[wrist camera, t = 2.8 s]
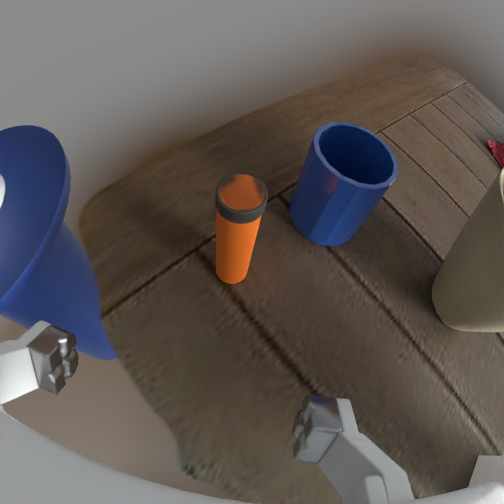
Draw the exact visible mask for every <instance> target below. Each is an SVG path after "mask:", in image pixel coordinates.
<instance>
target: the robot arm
mask: <svg viewBox="0 0 504 504" xmlns="http://www.w3.org/2000/svg"><path fill="white" fill-rule="evenodd" d="M4 194H5V182H4V179H3V177H2V175H1V174H0V208H1V205H2V202H3V199H4ZM75 345H76V337H75V336H74V335H73V334H72V333H69V332H67V331H65V330H63V329H60V328H58V327H56V326H54V325H51V324H49V323H47V322H45V321H38V322H37V323H36V324H35V325H34V326H32V327H31V328H30V329H29V330H28V331H27V332H25V333H24V334H23V335H22V336H21V337H20V338H18V339H17V340H16V341H15V340H9V341H4V342H0V504H257V503H249V502H242V501H235V500H229V499H223V498H217V497H211V496H207V495H202V494H197V493H193V492H189V491H184V490H180V489H176V488H173V487H169V486H165V485H161V484H158V483H155V482H151V481H148V480H145V479H142V478H139V477H136V476H133V475H130V474H127V473H125V472H121V471H119V470H116V469H114V468H111V467H109V466H106V465H104V464H101V463H99V462H96V461H94V460H92V459H89V458H87V457H85V456H82V455H80V454H78V453H76V452H74V451H72V450H70V449H68V448H66V447H64V446H62V445H59V444H58V443H56V442H54V441H52V440H50V439H48V438H46V437H44V436H43V435H41V434H39V433H37V432H36V431H34V430H32V429H30V428H29V427H27V426H25V425H24V424H22V423H21V422H19V421H17V420H16V419H14V418H13V417H11V416H10V415H8V414H6V413H5V411H4V409H3V407H2V405H1V404H3V403H5V402H8V401H10V400H12V399H14V398H17V397H19V396H21V395H23V394H26V393H28V392H30V391H32V390H34V389H36V388H38V386H39V387H41V388H43V389H45V390H47V391H49V392H51V393H54V394H56V395H57V394H58V393H59V392H60V391H61V389H62V388H63V387H64V385H65V384H66V383H65V379H66V378H69V377H72V375H73V374H74V373H75V371H76V368H77V365H78V353H77V352H76V350H75V349H74V346H75ZM293 437H294V438H295V439H296V442H295V444H294V446H293V451H294V461H299V462H309V463H318V466H319V467H320V468H321V470H322V471H323V472H324V474H325V475H326V477H327V478H328V479H329V481H330V482H331V483H332V485H333V486H334V487H335V489H336V490H337V491H338V493H339V494H340V495H341V497H342V498H343V500H342V501H341V502H340V503H339V504H504V485H503V484H501V483H499V482H497V481H488V482H484V483H481V484H478V485H475V486H471V487H468V488H464V489H461V490H457V491H453V492H449V493H445V494H440V495H436V496H431V497H426V498H421V499H415V500H414V497H413V493H412V490H411V487H410V483H409V480H408V477H407V474H406V472H405V471H404V470H403V469H402V468H400V467H399V466H398V465H397V464H396V463H395V462H394V461H393V460H391V459H390V458H389V457H388V456H387V455H386V454H385V453H384V452H383V451H381V450H380V449H379V448H378V447H377V446H376V445H375V444H374V443H373V442H372V441H370V440H369V439H368V438H367V437H366V436H365V435H364V434H363V433H359V432H358V428H357V425H356V421H355V417H354V413H353V410H352V406H351V402H350V400H349V399H342V398H329V397H320V396H311V395H306V396H305V397H304V399H303V401H302V409H301V410H299V411H298V412H297V414H296V416H295V419H294V423H293Z"/></svg>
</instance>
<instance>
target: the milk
mask: <svg viewBox="0 0 504 504" xmlns="http://www.w3.org/2000/svg"><path fill="white" fill-rule="evenodd" d="M488 481H497V482H499V483H501V484H503V485H504V456H484V455H479V456H478V458H477V462H476V465H475V468H474V471H473V474H472V476H471V479H470V482H469V485H468V487H471V486H475V485H478V484H481V483H484V482H488ZM468 487H467V488H468Z"/></svg>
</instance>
